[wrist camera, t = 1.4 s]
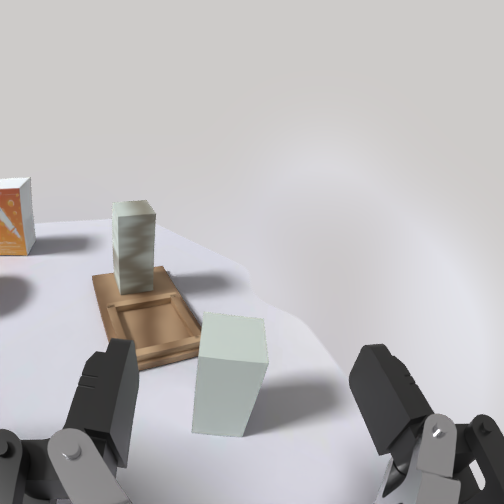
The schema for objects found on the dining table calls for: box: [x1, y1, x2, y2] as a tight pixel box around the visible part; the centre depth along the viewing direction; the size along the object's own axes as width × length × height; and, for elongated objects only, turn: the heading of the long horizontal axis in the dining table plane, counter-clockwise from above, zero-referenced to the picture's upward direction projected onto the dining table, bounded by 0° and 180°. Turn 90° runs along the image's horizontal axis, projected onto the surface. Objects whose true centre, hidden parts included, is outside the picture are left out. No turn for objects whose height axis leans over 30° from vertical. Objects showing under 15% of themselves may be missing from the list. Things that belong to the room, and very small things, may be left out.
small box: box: [0, 177, 36, 256], centre depth 42 cm, size 8×6×13 cm
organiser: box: [92, 200, 202, 371], centre depth 37 cm, size 12×19×13 cm, turn 33°
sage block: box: [192, 312, 269, 437], centre depth 26 cm, size 5×5×12 cm
